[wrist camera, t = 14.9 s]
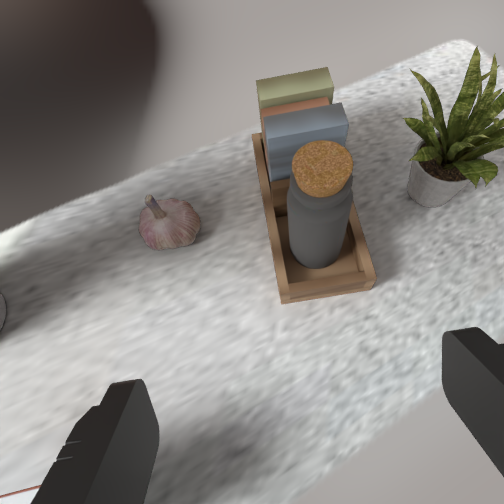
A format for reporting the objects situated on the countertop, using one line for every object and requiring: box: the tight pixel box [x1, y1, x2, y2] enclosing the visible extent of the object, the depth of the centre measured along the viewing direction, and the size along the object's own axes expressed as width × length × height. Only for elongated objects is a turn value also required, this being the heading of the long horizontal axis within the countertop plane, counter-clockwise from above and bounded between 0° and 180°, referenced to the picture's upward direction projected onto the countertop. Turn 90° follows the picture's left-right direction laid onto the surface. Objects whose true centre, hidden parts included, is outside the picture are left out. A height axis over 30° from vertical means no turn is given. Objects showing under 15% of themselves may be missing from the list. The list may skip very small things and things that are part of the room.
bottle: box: [287, 140, 353, 269], centre depth 34 cm, size 6×6×15 cm
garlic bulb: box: [139, 195, 200, 250], centre depth 42 cm, size 8×7×8 cm
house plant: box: [402, 46, 504, 207], centre depth 36 cm, size 14×14×16 cm
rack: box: [252, 67, 377, 304], centre depth 38 cm, size 22×10×13 cm, turn 8°
